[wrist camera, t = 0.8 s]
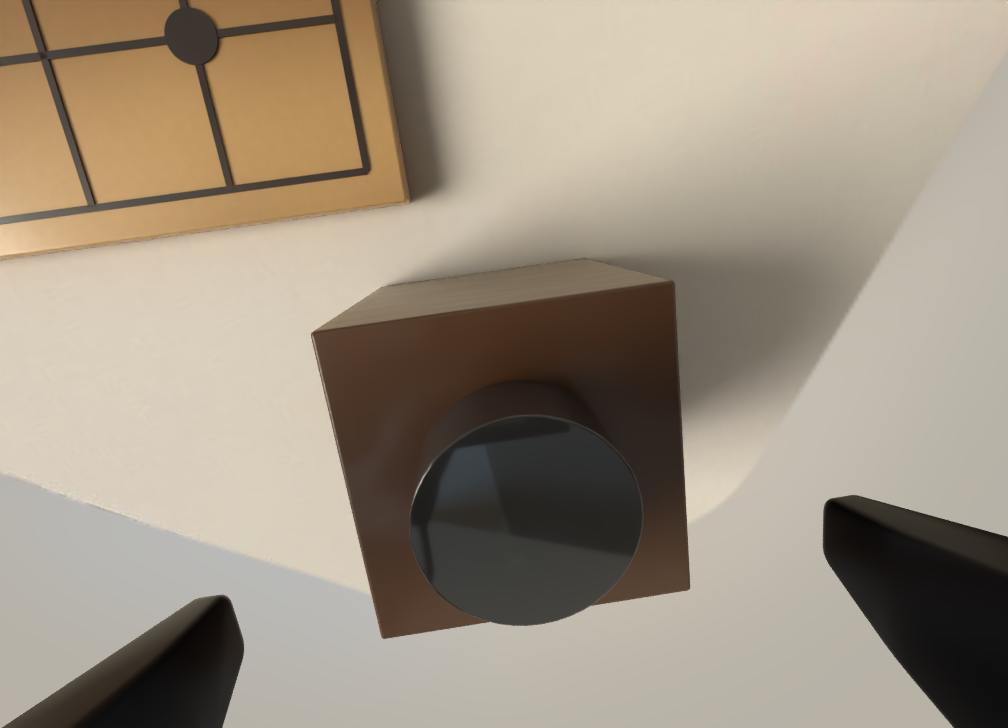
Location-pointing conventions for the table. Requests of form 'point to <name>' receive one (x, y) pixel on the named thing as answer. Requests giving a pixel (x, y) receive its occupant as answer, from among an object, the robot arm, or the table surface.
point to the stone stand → (492, 360)
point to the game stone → (523, 506)
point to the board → (189, 118)
